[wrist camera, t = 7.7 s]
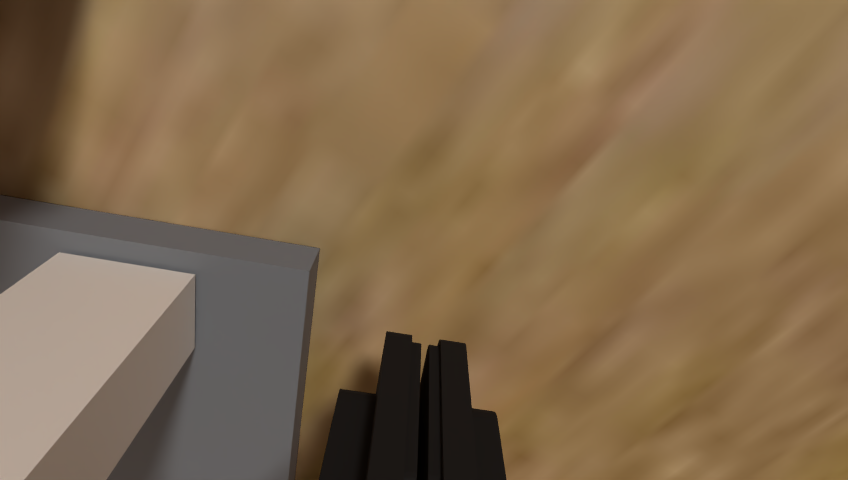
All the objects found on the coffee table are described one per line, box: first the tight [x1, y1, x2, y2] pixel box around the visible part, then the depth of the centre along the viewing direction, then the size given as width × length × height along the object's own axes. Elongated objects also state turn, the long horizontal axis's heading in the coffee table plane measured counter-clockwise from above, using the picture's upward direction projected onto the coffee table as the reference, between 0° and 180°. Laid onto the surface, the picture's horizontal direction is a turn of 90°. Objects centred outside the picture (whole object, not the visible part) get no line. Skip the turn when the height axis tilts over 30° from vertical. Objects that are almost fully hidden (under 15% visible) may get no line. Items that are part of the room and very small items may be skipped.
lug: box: [0, 252, 195, 480], centre depth 11 cm, size 3×6×6 cm, turn 170°
